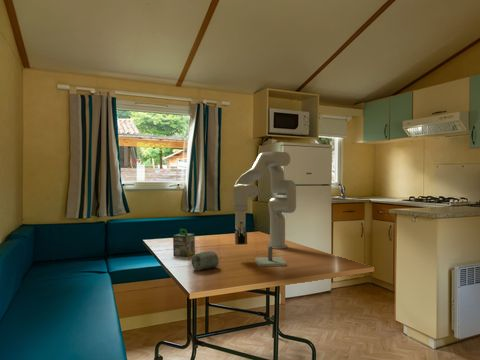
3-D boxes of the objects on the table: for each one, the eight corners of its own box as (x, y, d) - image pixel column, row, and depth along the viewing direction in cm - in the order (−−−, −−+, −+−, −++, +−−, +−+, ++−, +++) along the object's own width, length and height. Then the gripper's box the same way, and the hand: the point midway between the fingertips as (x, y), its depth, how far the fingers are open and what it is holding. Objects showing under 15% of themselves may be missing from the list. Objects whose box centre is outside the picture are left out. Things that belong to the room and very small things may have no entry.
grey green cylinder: (196, 266, 154) (197, 245, 159) (187, 272, 161) (188, 251, 166) (222, 270, 161) (222, 249, 166) (213, 275, 168) (213, 255, 173)
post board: (255, 259, 182) (255, 244, 182) (281, 259, 183) (281, 244, 183) (258, 266, 168) (258, 249, 168) (286, 265, 169) (286, 249, 169)
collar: (235, 242, 184) (235, 231, 184) (246, 242, 185) (246, 230, 184) (235, 244, 178) (235, 233, 178) (247, 244, 179) (247, 232, 178)
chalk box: (195, 253, 197) (195, 228, 197) (186, 257, 188) (186, 230, 188) (182, 252, 201) (182, 227, 201) (172, 255, 192) (172, 229, 192)
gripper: (232, 206, 189) (233, 239, 190) (234, 210, 172) (234, 245, 173) (246, 206, 190) (246, 238, 190) (249, 209, 173) (249, 245, 173)
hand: (241, 241), depth 181 cm, fingers closed on collar, 6 cm apart
